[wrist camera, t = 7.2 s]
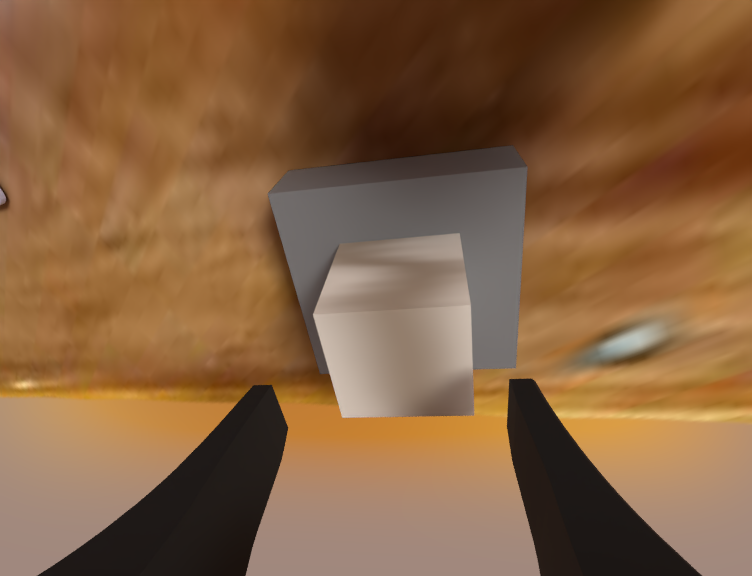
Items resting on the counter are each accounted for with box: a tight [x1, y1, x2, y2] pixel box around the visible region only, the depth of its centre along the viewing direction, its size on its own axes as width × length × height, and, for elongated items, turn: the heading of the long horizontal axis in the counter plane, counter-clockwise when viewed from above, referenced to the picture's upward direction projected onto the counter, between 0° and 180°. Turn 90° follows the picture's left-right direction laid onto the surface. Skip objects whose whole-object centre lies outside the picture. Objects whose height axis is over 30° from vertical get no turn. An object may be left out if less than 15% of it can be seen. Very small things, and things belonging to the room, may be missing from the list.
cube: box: [313, 233, 474, 418], centre depth 16 cm, size 5×5×5 cm
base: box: [268, 145, 527, 374], centre depth 20 cm, size 10×10×3 cm
